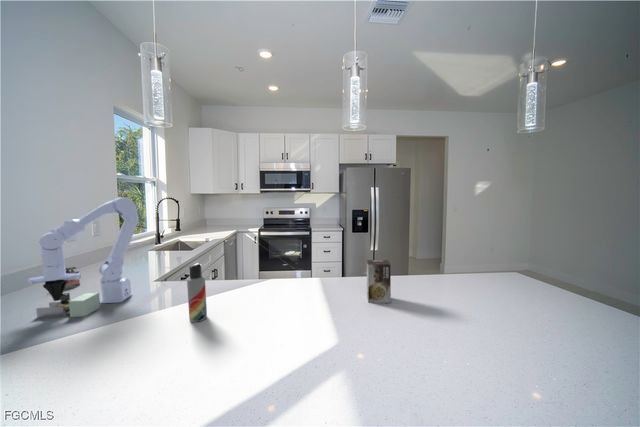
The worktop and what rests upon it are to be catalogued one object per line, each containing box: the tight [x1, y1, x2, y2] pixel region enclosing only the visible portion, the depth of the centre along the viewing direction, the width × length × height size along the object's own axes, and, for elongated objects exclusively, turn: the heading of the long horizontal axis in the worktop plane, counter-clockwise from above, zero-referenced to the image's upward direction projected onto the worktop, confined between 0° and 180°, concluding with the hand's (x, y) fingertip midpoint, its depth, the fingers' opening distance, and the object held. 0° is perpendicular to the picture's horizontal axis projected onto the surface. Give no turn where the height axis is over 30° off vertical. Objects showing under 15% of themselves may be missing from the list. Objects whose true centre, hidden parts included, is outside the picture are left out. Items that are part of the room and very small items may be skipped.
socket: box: [69, 292, 101, 318], centre depth 97 cm, size 5×7×6 cm
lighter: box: [64, 265, 81, 290], centre depth 122 cm, size 8×3×10 cm, turn 143°
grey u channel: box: [35, 301, 70, 319], centre depth 96 cm, size 9×5×4 cm, turn 96°
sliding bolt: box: [59, 292, 71, 311], centre depth 96 cm, size 9×3×6 cm, turn 96°
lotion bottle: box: [186, 263, 208, 323], centre depth 90 cm, size 6×6×20 cm
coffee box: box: [366, 259, 392, 304], centre depth 104 cm, size 9×6×16 cm
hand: (57, 299), depth 95 cm, fingers closed
